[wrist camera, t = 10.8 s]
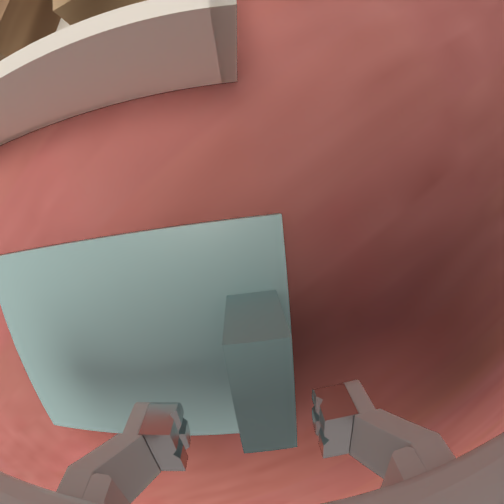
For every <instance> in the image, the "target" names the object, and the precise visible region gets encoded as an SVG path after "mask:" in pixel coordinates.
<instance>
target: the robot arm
mask: <svg viewBox="0 0 504 504" xmlns="http://www.w3.org/2000/svg"><path fill="white" fill-rule="evenodd" d="M312 400H313V403H314V407H313V408H312V418H313V425H314V430H315V433H316V435H318V436H319V447H320V450H321V453H322V457H323V458H328V457H333V456H338V455H343V454H348V453H349V455H351V456H352V457H354V458H355V459H356V460H358V461H359V462H360V463H362V464H363V465H365V466H366V467H367V468H369V469H370V470H372V471H373V472H374V473H376V474H377V475H379V476H380V477H382V478H383V479H384V480H383V482H382V485H381V488H380V489H377V490H374V491H370V492H367V493H363V494H360V495H356V496H352V497H348V498H344V499H340V500H336V501H331V502H327V503H322V504H504V432H502V433H501V434H499V435H498V436H496V437H494V438H493V439H491V440H489V441H487V442H486V443H484V444H482V445H480V446H479V447H477V448H475V449H473V450H471V451H469V452H467V453H466V454H464V455H462V456H460V457H458V458H456V457H455V456H454V455H453V453H452V452H451V450H450V449H449V447H448V446H447V444H446V443H445V442H444V440H443V439H442V437H441V436H440V434H439V433H437V432H434V431H432V430H429V429H427V428H424V427H422V426H419V425H417V424H415V423H412V422H410V421H407V420H405V419H403V418H401V417H398V416H396V415H394V414H391V413H389V412H387V411H385V410H382V409H375V407H374V405H373V403H372V402H371V400H370V398H369V396H368V395H367V393H366V391H365V389H364V388H363V386H362V384H361V382H360V381H359V380H353V381H349V382H344V383H341V384H337V385H332V386H327V387H322V388H316V389H313V390H312ZM183 414H184V410H183V407H182V404H181V403H179V402H136V403H135V404H134V406H133V408H132V411H131V413H130V416H129V418H128V421H127V423H126V425H125V428H124V430H123V433H122V434H119V433H118V434H117V435H115V436H114V437H112V438H111V439H109V440H108V441H106V442H105V443H103V444H102V445H100V446H99V447H97V448H96V449H94V450H93V451H91V452H90V453H88V454H87V455H85V456H84V457H82V458H81V459H79V460H77V461H76V462H74V463H73V464H71V465H70V466H68V468H67V470H66V472H65V474H64V476H63V478H62V480H61V483H60V485H59V487H58V489H57V491H56V492H54V491H51V490H48V489H45V488H42V487H39V486H36V485H33V484H30V483H28V482H25V481H22V480H20V479H17V478H15V477H12V476H10V475H8V474H5V473H3V472H1V471H0V504H130V503H131V502H132V501H133V500H134V499H135V498H136V497H137V496H138V495H139V494H140V493H141V492H142V491H143V490H144V489H145V488H146V487H147V486H148V485H149V484H150V483H151V482H152V481H153V480H154V479H155V478H156V477H157V476H158V475H159V473H160V472H161V471H186V467H187V460H188V455H187V452H186V449H187V448H188V447H190V429H189V425H188V421H187V420H186V419H184V418H183Z"/></svg>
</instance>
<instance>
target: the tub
mask: <svg viewBox="0 0 504 504" xmlns="http://www.w3.org/2000/svg"><path fill="white" fill-rule="evenodd" d="M229 82H237V1H236V0H146V1H142V2H139V3H135V4H131V5H128V6H124V7H121V8H118V9H114V10H111V11H108V12H105V13H102V14H99V15H96V16H94V17H91V18H88V19H85V20H83V21H80V22H78V23H75V24H73V25H69V24H68V23H67V22H66V21H65V20H63V19H62V18H61V19H60V22H59V25H58V27H57V30H56V32H54V33H52V34H50V35H48V36H46V37H44V38H41V39H39V40H37V41H35V42H33V43H31V44H30V45H28V46H26V47H24V48H22V49H20V50H18V51H17V52H15V53H13V54H11V55H10V56H8V57H6V58H4V59H3V60H1V61H0V145H3V144H5V143H7V142H9V141H11V140H14V139H16V138H18V137H21V136H23V135H25V134H28V133H30V132H33V131H35V130H38V129H40V128H43V127H45V126H48V125H51V124H53V123H56V122H59V121H62V120H65V119H68V118H70V117H73V116H76V115H80V114H83V113H86V112H89V111H92V110H96V109H99V108H103V107H106V106H110V105H113V104H117V103H121V102H125V101H129V100H133V99H137V98H141V97H146V96H150V95H155V94H160V93H165V92H170V91H175V90H181V89H186V88H193V87H199V86H206V85H213V84H220V83H229Z"/></svg>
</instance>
